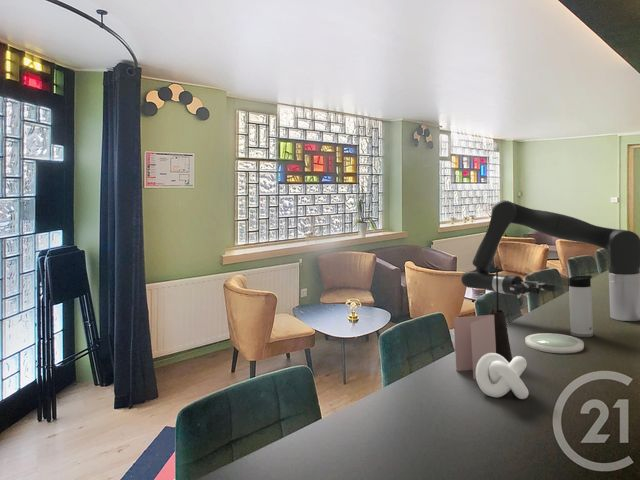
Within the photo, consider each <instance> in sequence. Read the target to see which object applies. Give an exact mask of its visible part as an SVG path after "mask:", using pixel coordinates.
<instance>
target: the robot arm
mask: <svg viewBox="0 0 640 480" xmlns="http://www.w3.org/2000/svg"><path fill="white" fill-rule="evenodd" d="M511 224H516V225H520V226H524V227H527V228H530V229H532V230H534V231H536V232H538V233H541V234H545V235H547V236H550V237H552V238H553V237H554V238H556V239H561V240H566V241H571V242H578V243H585V244H589V245H593V246H596V247H599V248H602V249H605V250H607V251H610V252H609V253H610V254H609V255H610V256H609V260H610V261H609V264H608V287H609V290H608V291H609V313H610V314H609V315H610V316H609V317H610V318H611V320H612V319H613V320H615V321H623V322H637V321H640V237H639V235H638V234H637V233H635V231H631V230H627V229H618V228H617V229H616V228H610V227H603V226H599V225H595V224H591V222H590V223H589V222H587V221H584V220H582V219H579V218H577V217H573V216H569V215H565V214H561V213H558V212H554V211H553V212H552V211H547V210H541V209H534V208H529V207H526V206H523V205H520V204H517V203H515V202H512V201H509V200H499V201H497V202H496V203H495V204H494V205H493V206H492V208H491V217H490V221H489V225H488V227H487V230H486V232H485V235H484V237H483V238H482V240H481V242H480V244H479V246H478V248H477V250H476V253H475V254H474V255H475V256H473V259H472V265H473V266H474V267H475V268H476V269H475V271H472V270H471V271H465V272H464V273H463V274H462V275H461V279H460V281H461V283H462V285H463V286H464V287H467V288H470V289H477V290H478V289H481V290H487V291H491V292H496V288H497V287H496V273H490V272H489V270H490V266H491V264H492V262H493V260H494V258H495V256H496V253H497V250H498V248H499V245H500V242H501V240H502V237H503V235H504V234H505V232H506V230H507V229H508V228H509V226H510V225H511ZM542 291H548V292H549V291H550V292H555V291H556V286H555V284H549V283H547V281H546V282H545V281H535V280H531V281H529V280H524V279H523V278H522V277H521V276H519V275H511V274H504V273H503V274H498V294H499V293H501V294H504V295H512V296H519V295H525V294H535V295H541V294H542V293H541V292H542Z"/></svg>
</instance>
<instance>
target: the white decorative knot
mask: <svg viewBox="0 0 640 480" xmlns="http://www.w3.org/2000/svg"><path fill="white" fill-rule="evenodd" d="M527 364H528V363H527V360H526V359H525V357H523V356H521V355H516V356H514V357H512V360H511V362H508V361H507V360H506V359H505V358H504V357H503V356H501V355H499V354H497V353H488V354H485V355H484V356H482V357H481V358H480V360H479V361H478V363H477V366H476V379H475V380H476V383H477V385H478V387H479V388H480V390H481V391H482V392H483V393H484V394H485V395H487V396H489V397H492V398H501V397H503V396H505V395H507V394H508V393H509V392H510V391H512V393H513V394H514V396H515V397H516V398H518V399H520V400H525V399H527V398H528V396H529V389H528V388H527V386H526V385H525V383H524V381H523V380H522V379H521V378H520V377H521V376H522V374H523V373H524V371H525V370H526V368H527V366H528V365H527Z"/></svg>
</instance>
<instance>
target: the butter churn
mask: <svg viewBox="0 0 640 480" xmlns="http://www.w3.org/2000/svg"><path fill="white" fill-rule="evenodd" d="M498 269H499V266H497V265H496V266H495V274H496V287H497V288H496V307H492V308H491V309H490V311H489V315H494V323H495V342H496V353H497V354H499V355H501V356H503V357H504V358H505V359H506V360H507V361H508V362H509V363H510V362H511V360H512V359H513V357H512V349H511V345H510V344H511V343H510V337H509V333H508V327H507V321H506V314H505V310H502V309H499V292H498V275H499V270H498Z"/></svg>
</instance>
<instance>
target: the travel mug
mask: <svg viewBox="0 0 640 480" xmlns="http://www.w3.org/2000/svg"><path fill="white" fill-rule="evenodd" d="M592 278H593V276H592V275H588V274H587V275H577V276H571V277H569V278H568V297H569V298H568V300H569V320H570V321H569V322H570V325H569V326H570V335H571V336H572V337H576V338H591V337H593V335H594V332H593V331H594V329H593V328H594V327H593V326H594V325H593V304H592V301H593V300H592V299H593V298H592V285H591V283H592V282H591V279H592Z"/></svg>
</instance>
